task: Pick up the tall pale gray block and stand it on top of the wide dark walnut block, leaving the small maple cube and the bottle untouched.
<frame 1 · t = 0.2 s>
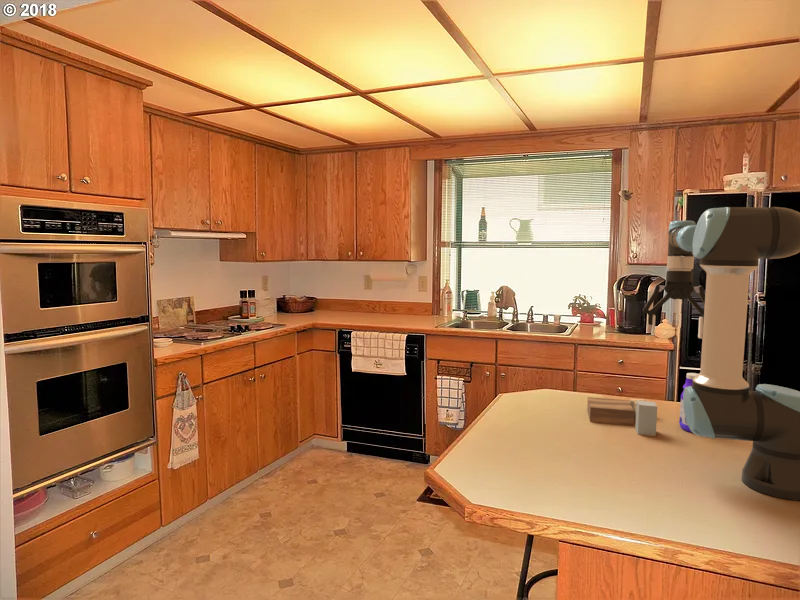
hand: (676, 336, 177), 28 cm above the kitchen island, fingers open, 13 cm apart
maple cube: (639, 416, 185), on the kitchen island
bottle: (690, 430, 171), on the kitchen island
walnut block: (609, 418, 182), on the kitchen island
pale gray block: (645, 432, 168), on the kitchen island
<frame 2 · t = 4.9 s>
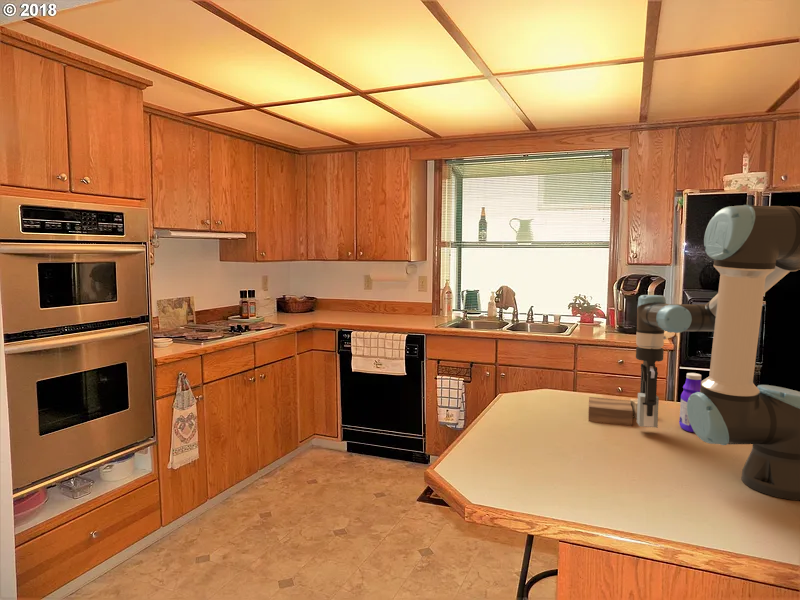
hand: (646, 423, 167), 3 cm above the kitchen island, fingers closed on pale gray block, 5 cm apart
pale gray block: (646, 424, 167), point 3 cm above the kitchen island, touching gripper
everything else where it was.
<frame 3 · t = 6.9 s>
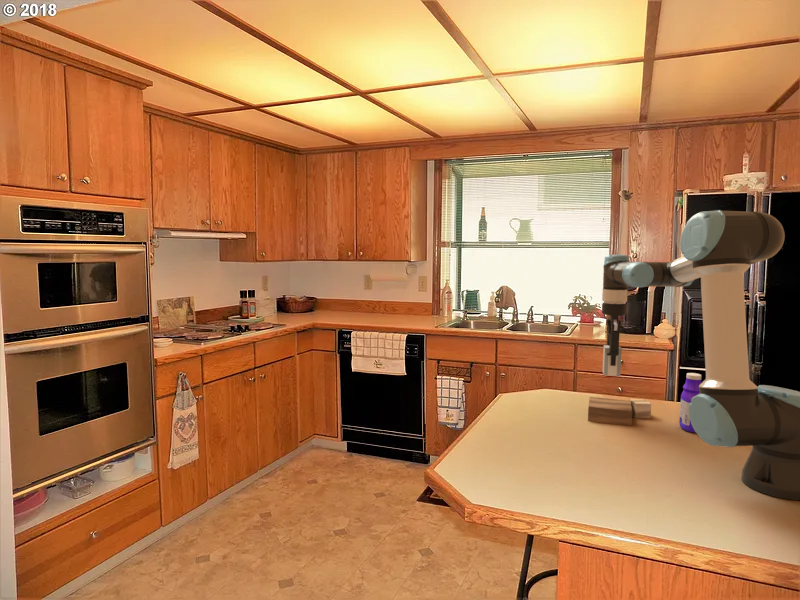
hand: (611, 373, 181), 15 cm above the kitchen island, fingers closed on pale gray block, 5 cm apart
pale gray block: (611, 374, 181), point 14 cm above the kitchen island, touching gripper
everything else where it was.
when the fingers open (6 cm above the kitchen island, at t = 9.2 s): pale gray block stays where it is, point 5 cm above the kitchen island.
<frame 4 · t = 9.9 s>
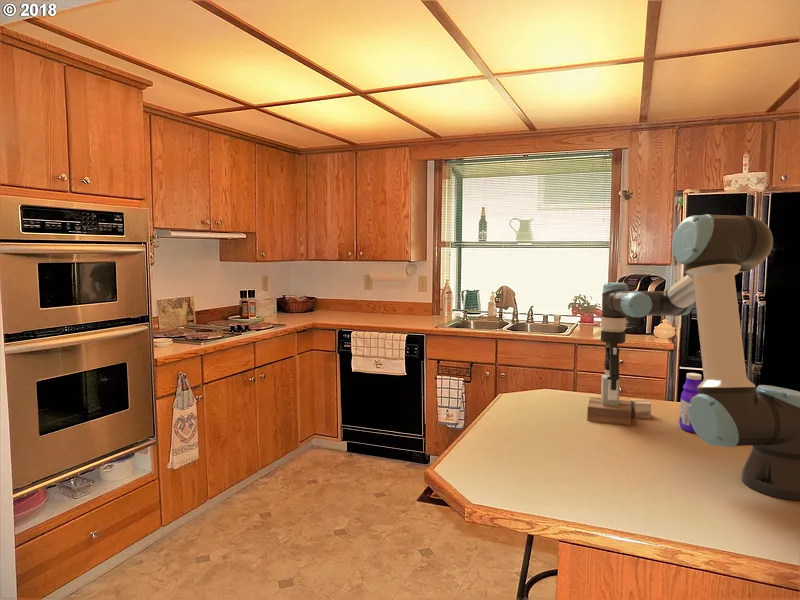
hand: (610, 394, 182), 8 cm above the kitchen island, fingers open, 13 cm apart
pale gray block: (609, 403, 182), point 5 cm above the kitchen island
everything else where it was.
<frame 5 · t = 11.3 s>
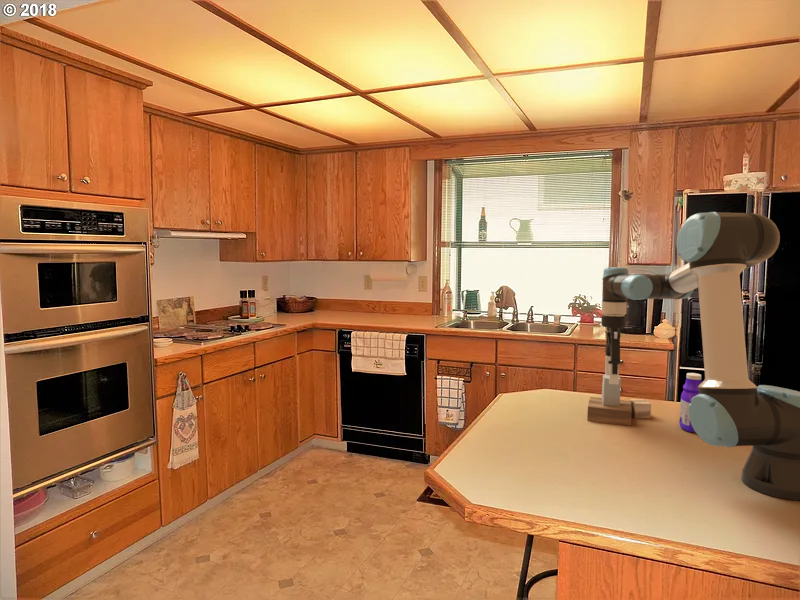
hand: (611, 379, 181), 13 cm above the kitchen island, fingers open, 13 cm apart
walnut block: (609, 418, 182), on the kitchen island, touching pale gray block
pale gray block: (610, 403, 182), point 5 cm above the kitchen island, touching walnut block
everything else where it was.
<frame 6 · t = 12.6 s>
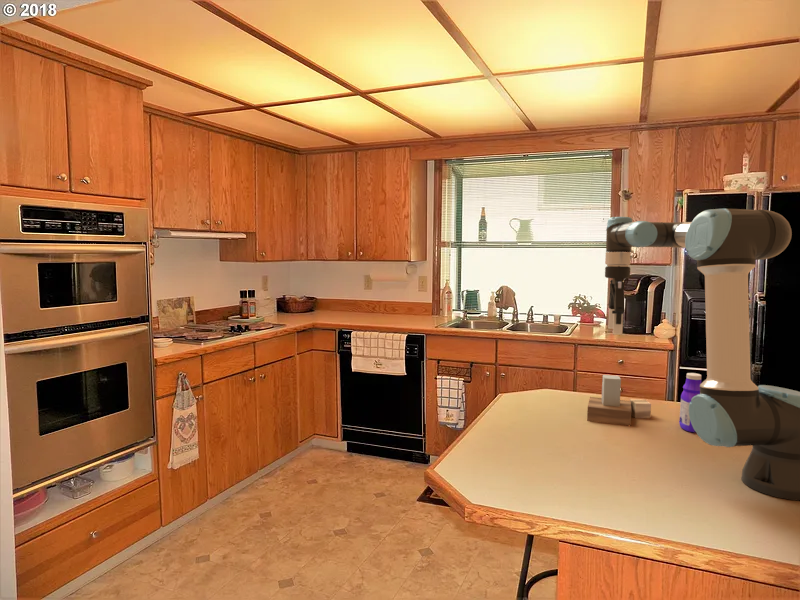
hand: (614, 331, 179), 29 cm above the kitchen island, fingers open, 13 cm apart
walnut block: (609, 418, 183), on the kitchen island
pale gray block: (610, 403, 182), point 5 cm above the kitchen island
everything else where it was.
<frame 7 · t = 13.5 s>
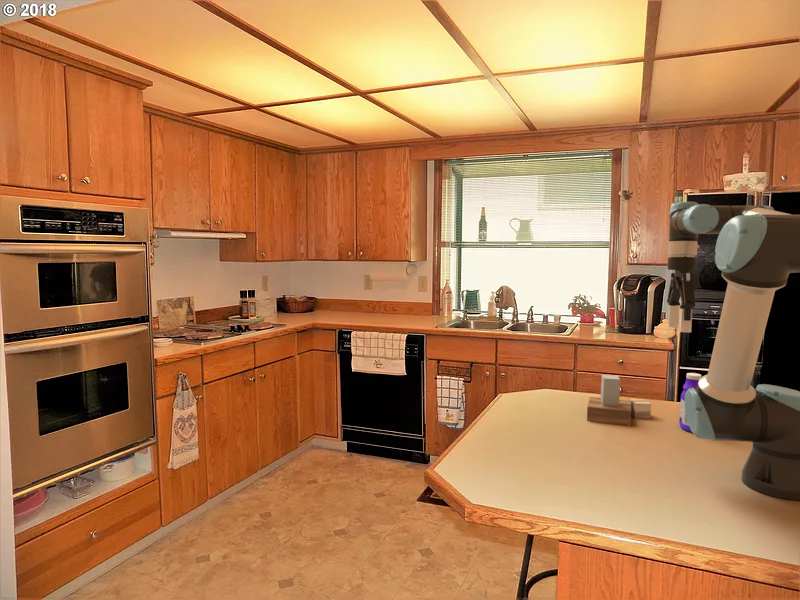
hand: (679, 329, 161), 32 cm above the kitchen island, fingers open, 13 cm apart
walnut block: (608, 418, 183), on the kitchen island, touching pale gray block
pale gray block: (609, 403, 182), point 5 cm above the kitchen island, touching walnut block
everything else where it was.
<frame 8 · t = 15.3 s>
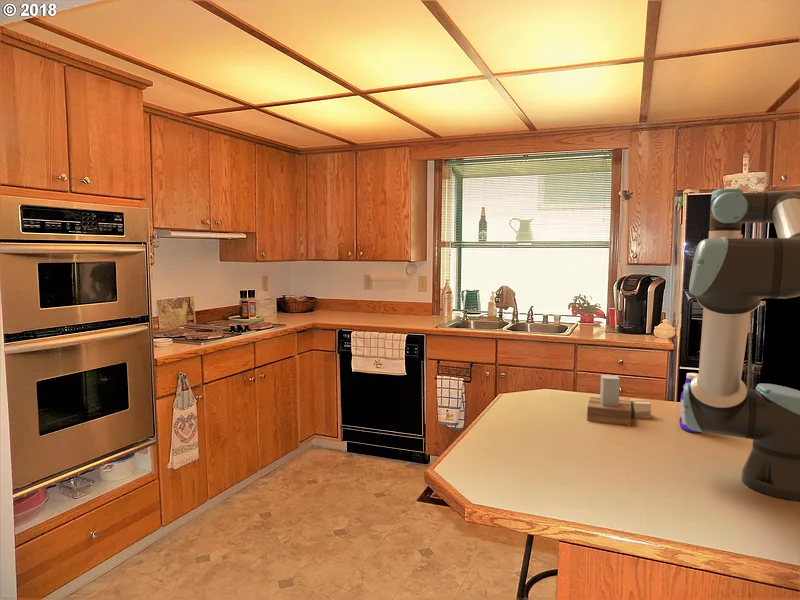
hand: (719, 324, 153), 35 cm above the kitchen island, fingers open, 13 cm apart
nothing on the kitchen island moved.
at the end: pale gray block inside the target area on the walnut block (0.2 cm from its centre), point 5.0 cm above the walnut block's base; pale gray block tilted 0°; the gripper is holding nothing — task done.
